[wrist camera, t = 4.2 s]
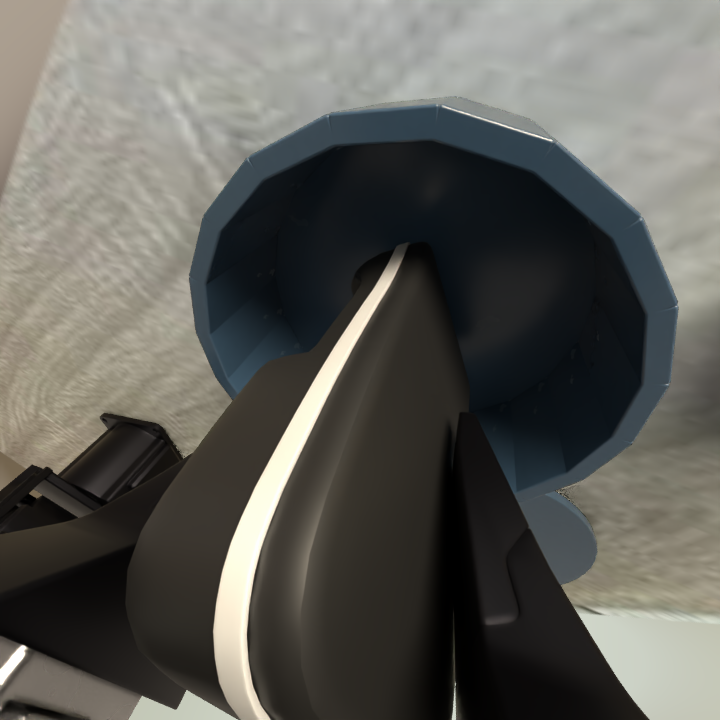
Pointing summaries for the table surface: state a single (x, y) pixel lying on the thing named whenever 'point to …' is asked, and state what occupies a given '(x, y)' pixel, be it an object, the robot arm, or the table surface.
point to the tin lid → (561, 535)
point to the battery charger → (320, 522)
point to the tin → (452, 271)
